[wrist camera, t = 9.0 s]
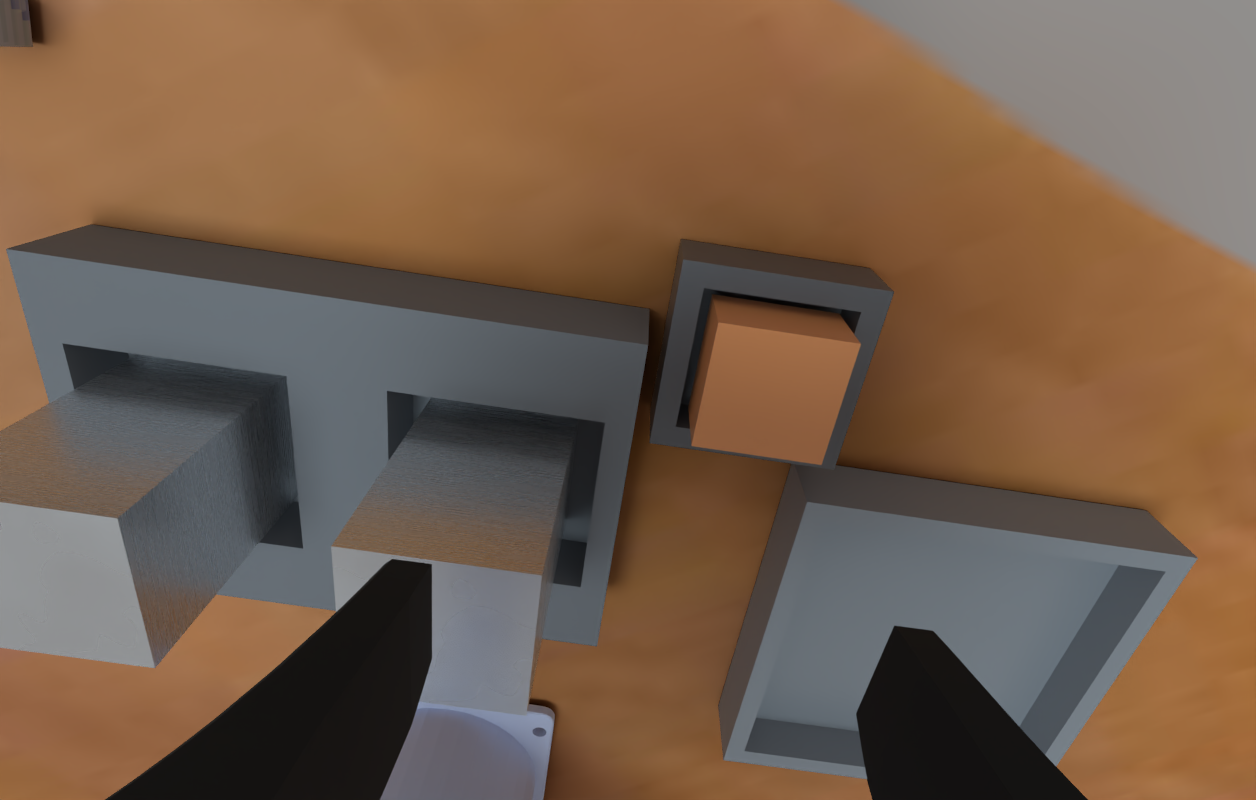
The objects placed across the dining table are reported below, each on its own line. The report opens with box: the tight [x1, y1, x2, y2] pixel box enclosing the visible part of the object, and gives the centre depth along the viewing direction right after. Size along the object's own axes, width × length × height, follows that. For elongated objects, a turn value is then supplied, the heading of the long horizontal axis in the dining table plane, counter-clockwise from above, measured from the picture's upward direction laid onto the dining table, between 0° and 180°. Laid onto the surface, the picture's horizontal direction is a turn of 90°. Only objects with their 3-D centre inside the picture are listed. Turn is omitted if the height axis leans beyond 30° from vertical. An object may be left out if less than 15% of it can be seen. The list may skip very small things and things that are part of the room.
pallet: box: [6, 225, 650, 646], centre depth 19 cm, size 10×15×3 cm, turn 82°
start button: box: [688, 294, 861, 465], centre depth 16 cm, size 3×3×2 cm
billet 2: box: [331, 397, 579, 716], centre depth 17 cm, size 4×4×7 cm
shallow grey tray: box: [718, 464, 1198, 779], centre depth 22 cm, size 11×11×2 cm
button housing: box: [649, 239, 894, 470], centre depth 18 cm, size 5×5×2 cm
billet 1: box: [0, 354, 298, 668], centre depth 17 cm, size 4×4×7 cm
